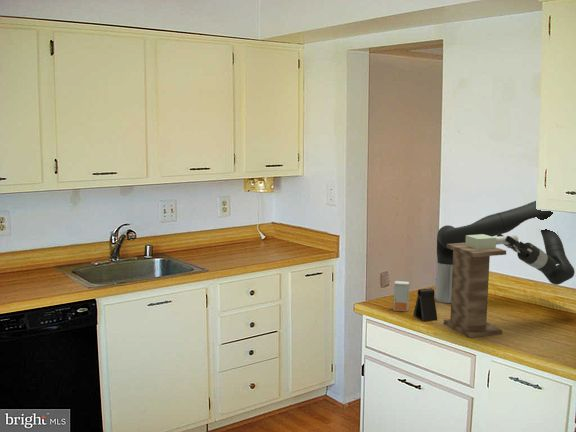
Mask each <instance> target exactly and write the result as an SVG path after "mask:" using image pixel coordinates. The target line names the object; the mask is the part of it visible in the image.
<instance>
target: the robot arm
mask: <svg viewBox="0 0 576 432" xmlns="http://www.w3.org/2000/svg"><path fill="white" fill-rule="evenodd" d="M552 214H553V212H551V211H541V210H537V209H536V200H535V201H531V202H529V203H526V204H523V205H521V206H518V207H515V208H510V209H508V210H504V211H500V212H497V213H492V214H489V215H486V216H484V217H482V218H480V219H478V220H476V221H475V222H473V223H472V222H471V224H466V225H462V226H458V227H454V226H452V225H447V224H445V225H444V226H442V227H440V229H438V231H437V235H436V257H437V260H436V262H437V263H436V265H437V266H436V278H435V287H434V288H435V289H434V292H435V293H434V298H435V301H437V302H439V303H444V304H451V293H452V268H453V250H452V249H449V248H447V244H454V243H466V235H479V234H485V235H488V236H492V237H500V236H504V234H506V233H507V234H508V233H509V232H511V231H512V230H514V229H515V228H517V227H518V226H520V225H522V223H524V222H526V221H528V220H530V219H535V217H537V218H538V219H540V220H544V219H547V218H548V217H550V216H551V215H552ZM540 233H541V236H542V240H543V245H544V249H545V252H544V251H543V250H542V249H541V248H539V247H537V246H536V245H534V244H532V243H531V242H525V243H524V242H523V241H520V240H519V239H518V240H515V239H513V238H512V237H510V236H511V235H506V236H507V237H506V239H505V241H507V242H508V243H510V244H503V246H505V247H506V248H508V249H511V250H512V251H513V252H514V253H517V254H516V255H517V257H518V259H519V260H520V261H522V262H524V263H525V264H526V265H528V266H530V267H532V268H534V269H536V270H537V271H540V273H542V274H543V275H544V277H545V278H546V279H547V280H548V282H549V283H551V284H552V285H556V286H557V285H561V284H563V283H565V282H567V281H569V280H571V279H572V278H574V277H575V268H574V267H573V265H572V264H571V262H570V261H569V259H568V257H567V254H566V251H565V248H564V245H563V241H562V239H561V238H560V236H559V234H558V233H557V234H558V235H557V234H556V233H555V232H553V231H550V230H547V229H545V230H541V231H540Z"/></svg>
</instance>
